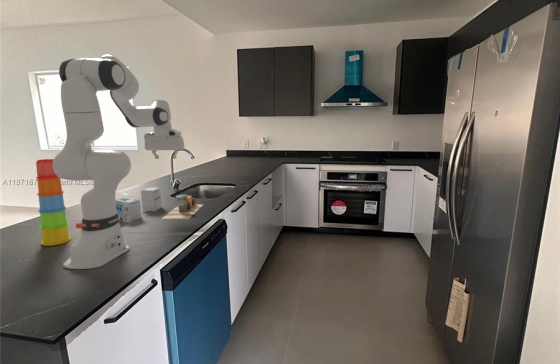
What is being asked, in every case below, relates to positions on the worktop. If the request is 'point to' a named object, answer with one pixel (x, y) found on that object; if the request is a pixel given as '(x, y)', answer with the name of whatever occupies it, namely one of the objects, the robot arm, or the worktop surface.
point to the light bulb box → (128, 209)
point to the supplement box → (151, 199)
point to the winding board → (182, 215)
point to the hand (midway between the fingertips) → (165, 158)
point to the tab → (189, 200)
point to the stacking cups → (51, 205)
